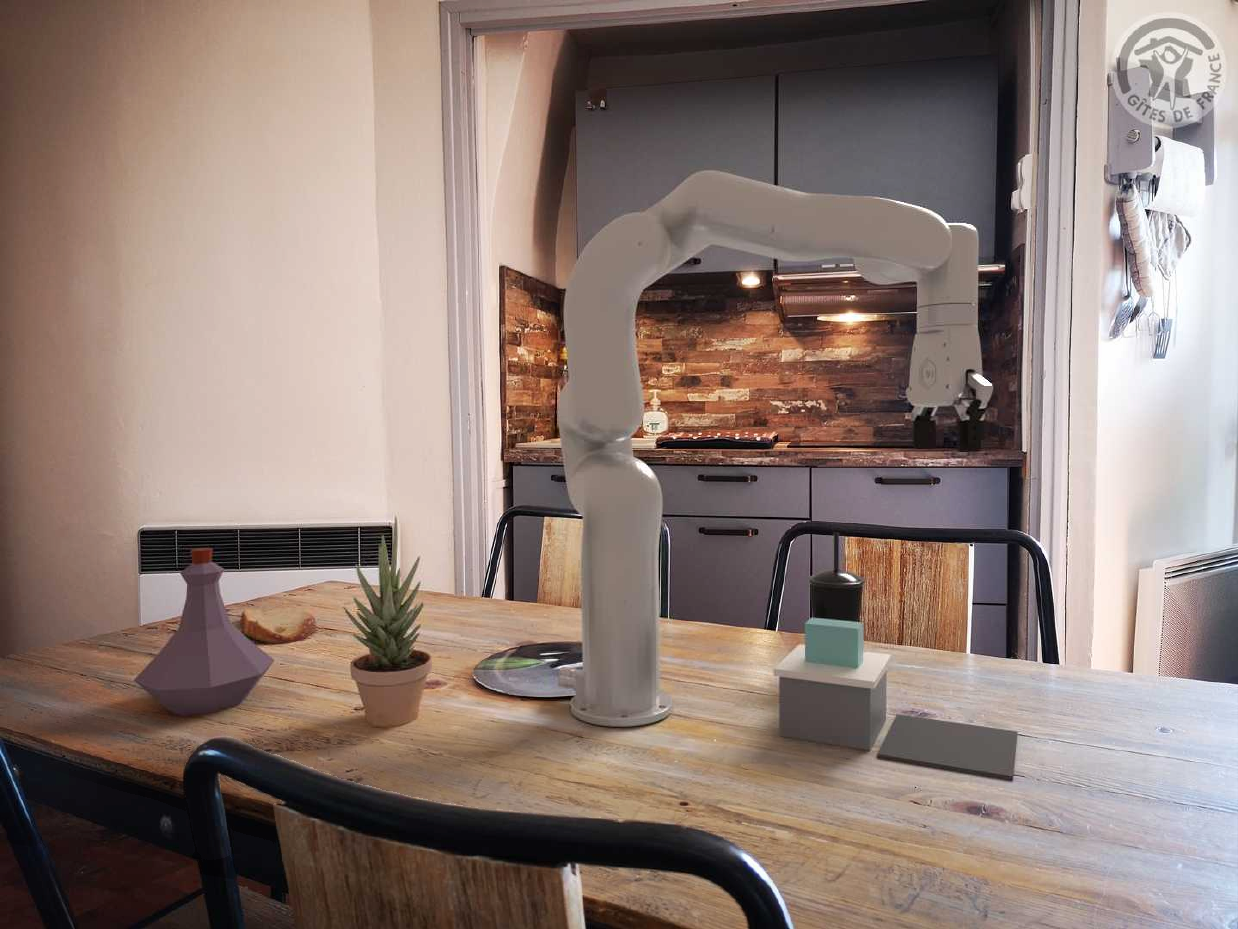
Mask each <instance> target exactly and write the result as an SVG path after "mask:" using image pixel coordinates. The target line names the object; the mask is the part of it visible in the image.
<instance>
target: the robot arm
mask: <svg viewBox="0 0 1238 929" xmlns="http://www.w3.org/2000/svg"><path fill="white" fill-rule="evenodd" d="M979 240H980V239H979V232H978V229H977V228H976V227H975V226H973V225H972V224H967V223H962V222H961V223H960V222H959V223H957V222H954V223H952V222H951V223H947V222H946V221H945V220H944V219H943V218H942V217H941V216H940V215H938V214H937V213H935V212H933V211H932V210H929V209H927V208H923V207H920V206H917V205H913V204H909V203H906V202H901V201H897V200H894V199H893V200H892V199H888V198H883V197H877V196H876V197H875V196H865V195H850V194H849V195H847V194H846V195H845V194H844V195H843V194H833V193H809V192H805V191H804V192H803V191H799V190H795V189H792V188H791V189H790V188H786V187H783V186H778V185H774V184H772V183H768V182H763V181H759V180H755V179H752V178H748V177H744V176H740V175H736V174H732V173H729V172H724V171H719V170H713V169H712V170H711V169H709V170H708V169H707V170H706V169H705V170H701V171H698V172H695V173H693V174H692V175H689V176H688V177H687V178H685V179H684V180H683V181H682V182H681V183H680V184H679V185H678V186H677V187H675V189H673V191H671V192H670V193H669V194H668V195H665V197H663V198H662V199H661V200H660V201H658V202H656V203H655V204H653V205H652V206H651V207H650V208H648V209H646V210H644V211H642V212H639V211H638V212H637V211H636V212H631V213H626V214H624V215H621V216H620V217H619V216H618V217H617V218H615V219H614V220H612V221H611V222H609V223H608V224H606V225H605V226H604V227H603V228H602V229H601V230H599V231H598V232H597V233H596V234H595V235H594V236H593V237H592V238H591V239H590V240H589V242H588V243H586V246H584V248H583V249H582V251H581V253H580V255H579V256H578V259H577V260H576V262H575V264H574V265H573V268H572V270H571V272H570V276H569V279H568V282H567V285H566V290H565V294H564V301H563V302H564V303H563V327H564V328H563V329H564V339H565V353H566V361H567V362H566V363H567V364H566V365H567V373H568V380H567V382H566V383H565V384H564V386H563V387H562V389H561V392H560V394H559V398H558V402H557V404H558V405H557V422H558V430H559V431H558V432H559V438H560V446H561V454H562V461H563V467H564V468H563V469H564V476H565V481H566V482H565V483H566V488H567V492H568V493H567V494H568V497H569V500H570V503H571V504H572V505H573V508H574V509H575V511H576V512H577V513H578V514H579V515H580V516H582V533H581V545H580V546H581V549H580V550H581V551H580V586H581V588H580V589H581V639H582V640H581V641H582V642H581V643H582V644H581V646H582V649H581V650H582V669H577V668H575V667H574V668H573V667H568V666H562V667H560V669H559V672H558V679H557V686H558V687H560V688H566V689H568V688H569V689H573V690H574V692H575V695H574V696H573V697H572V698H571V700H570V711H571V713H572V714H573V716H574V717H576V718H577V719H578V720H580V721H583V722H584V723H589V724H593V725H597V726H603V727H616V728H617V727H620V728H623V727H624V728H625V727H637V726H643V725H649V724H653V723H656V722H659V721H661V720H663V719H665V718H667V717H668V716H669V715H670V714H671V713H672V711H673V708H674V707H673V699H672V697H671V695H669V694H668V693H667V692H665V691H663V690H661V684H660V683H661V678H660V677H661V676H660V675H661V670H660V668H661V666H660V665H661V664H660V661H661V660H660V658H661V657H660V655H661V654H660V585H659V548H660V538H661V537H660V536H661V527H662V526H661V525H662V519H663V507H664V506H663V503H664V502H663V493H662V488H661V484H660V482H659V480H658V479H659V478H657V476H656V474H655V473H654V471H653V470H652V469H651V468H650V466H649V465H647V464H646V463H645V462H644V461H643V460H641V459H639V458H637V457H635V456H634V450H633V443H632V442H633V441H632V436H633V435H634V434H635V433H636V432H637V431H638V429H639V428H640V427H641V425H642V423H643V419H644V417H645V416H644V415H645V402H644V401H645V399H644V392H643V388H642V386H643V385H642V381H641V380H642V379H641V373H640V366H639V356H638V349H637V338H636V312H637V306H638V302H639V300H640V297H641V295H642V293H643V291H644V289H646V288H648V287H649V286H651V285H652V284H654V283H655V282H656V281H657V280H659V279H661V278H662V277H663V276H666V275H667V274H669V273H670V272H672V271H674V270H675V269H676V268H678V267H679V266H681V265H682V264H685V263H686V262H687V261H688V260H690V259H692V258H693V257H694V256H696V255H697V254H699V253H700V252H701V251H703V250H705V249H706V248H707V247H709V246H711V245H716V246H720V247H724V248H728V249H733V250H737V251H741V252H746V253H749V254H750V253H751V254H755V255H760V256H763V257H767V258H771V259H775V260H779V261H784V262H811V261H821V260H827V259H837V258H838V259H839V258H840V259H841V258H842V259H843V258H846V259H847V258H848V259H853V263H854V265H853V266H854V267H855V270H856V272H857V273H858V274H859V275H860V276H861V278H863V279H864V280H866V281H868V282H870V283H872V284H875V285H881V286H882V285H885V286H886V285H893V284H901V283H902V284H903V283H908V282H909V283H910V282H915V283H916V286H917V287H916V290H917V291H916V294H917V295H916V298H917V299H916V303H917V304H916V333H915V335H914V339H913V342H912V343H913V344H912V350H911V358H910V368H909V380H908V382H909V384H908V385H909V386H908V387H907V388H906V389H905V396H906V398H907V402H908V404H907V407H908V410H909V412H910V413H911V414H910V419H911V420H912V447H913V448H912V449H914V450H934V449H935V448H936V444H937V443H936V439H937V435H936V434H937V433H936V432H937V431H936V430H937V422H936V421H937V420H936V419H934V417H935V414H936V412H937V410H938V408H939V407H954V408H955V410H956V411H957V414H958V416H959V417H960V420H956V451H957V452H958V453H979V452H981V451H982V430H983V429H982V427H983V426H982V424H983V423H982V421H984V420H985V418H986V411H987V410H988V408H989V406H990V399H991V398H992V394H993V391H994V386H993V384H992V383H990V382H989V381H988V380H987V379H985V378H984V377H983V361H982V349H981V348H982V347H981V340H980V334H979V330H978V327H979V326H978V322H979V321H978V320H979V314H978V313H979V312H978V311H979V309H978V308H979V305H978V304H979V249H980V248H979V246H980V245H979V244H980V243H979V242H980V241H979Z"/></svg>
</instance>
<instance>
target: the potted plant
mask: <svg viewBox="0 0 1238 929" xmlns="http://www.w3.org/2000/svg"><path fill="white" fill-rule="evenodd" d="M394 517H395V518H394V525H393V526H394V527H393V541H392V551H391V563H390V561H389V555H388V549H387V544H386V540H385V536H384V534H382V535H381V541H380V542H381V544H380V545H378V580H379V581H378V582H379V596H378V595H377V593H376V592H375V591H374V589H373V588H372V586H371V585H370V584H369V582H368V580H367V579H366V578H365V576H364V574H363V573H362V571H361V569H360V566H359V565H358V564H356V563H355V569H356V574H357V578H358V580H359V584H360V585H361V587H362V589H363V592H364V594H365V596H366V598H367V600H368V602H369V605H370V608H371V611H370V610H369V609H368V608H367V607H366V606H365V605H363V603H361V601H359V600H358V599H357V598H356V597H355V596H353V602H354V603H355V605H356V607H357V608H358V610H359V611H360V612H361V613H360V612H356V615H357V617H358V619H360V620H361V622H362V623H363V625H364V626H363V625H362V624H361V623H360V622H359V621H358V620H357V619H356V618H355V617H354V616H353V615H352V614H351V613H350V611H348V610H347V609H346V608H347V607H345V606H343V607H342V609H344V613H345V614H346V615H347V617H348V618H349V619H350V620H351V622H352V623H353V625H354V626H355V627H356V628H357V629H358V630H359V631H360V632H361V634H363V635H364V636H365V638H364V637H361V636H359V635H357V634H355V633H354V634H352V636H353V637H354V638H355V639H356V640H358V641H359V642H360V643H361V644H362V645H364V646H365V647H366V648H368V651H369V652H366V653H362V654H361V655H358V656H356V657H355V658H353V659H352V660H351V661H350V665H349V666H350V668H349V669H350V677H351V679H352V680H354V681H355V684H356V688H357V691H358V693H359V694H358V695H359V697H360V701H361V703H362V708H363V710H364V713H365V714H364V715H365V719H366V720H365V721H367V723H368V724H369V725H372V726H373V727H382V728H385V727H386V728H387V727H388V728H389V727H397V726H402V725H405V724H410V723H411V722H413V721H415V720H416V719H418V717H419V712H420V706H421V700H422V696H423V693H424V688H425V686H426V685H425V684H426V681H427V678H428V675H429V674H430V673H431V671H432V669H433V667H432V666H433V665H432V664H433V662H432V659H433V658H432V656H431V654H430V653H429V652H426V651H423V650H419V649H415V646H414V644H415V642H416V641H417V639H418V638H419V636H420V634H421V633H420V632H418V630H419V629H420V628H421V626H422V625H421V624H418V625H417V626H416V627H415V628H414V629H413V630H412V631H411V632H410V633H409V634H407V633H408V631H409V630H410V628H411V627H412V625H413V624H414V622H415V621H416V619H417V618H418V616H419V614H420V613H421V611H422V609H423V607H424V605H425V604H424V601H422V602H421V603H420V604H419V603H417V604H416V605H415V606H414V607H413V608H411V609H410V607H411V606H412V604H413V603H414V600H415V598H416V596H417V594H418V592H419V589H420V586H421V581H418V583H417V584H416V586H415V588H414V589H413V590H412V592H411V593H410V595H409V596H408V597H407V598H406V600H405V601H404V599H405V597H406V596H407V593H408V591H409V589H410V586H411V585H412V584H411V583H412V581H413V579H414V576H415V574H416V572H417V570H418V566H419V563H420V558H421V557H420V556H421V555H419V556H418V557H417V559H416V560H415V562H414V564H413V566H412V568H410V570H409V573H408V575H407V576H406V578H405V580H404V582H403V583H402V585H400V584H401V577H402V574H401V573H402V571H401V568H400V567H399V568H398V570H397V565H398V546H399V545H398V544H399V542H398V541H399V536H398V535H399V534H398V532H399V530H398V519H397V516H394ZM402 603H403V604H402ZM365 626H366V628H367V629H368V630H367V629H366V628H365ZM417 632H418V633H417ZM406 634H407V636H406Z"/></svg>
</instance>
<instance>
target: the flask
mask: <svg viewBox="0 0 1238 929" xmlns="http://www.w3.org/2000/svg"><path fill="white" fill-rule="evenodd" d="M213 550H214V549H213V548H212V547H199V548H193V549H190V556H191V561H192V563H191V564H189V565H188V566H187V567H186V568H184V569H183V570H182V571H181V572H179V573H180V575H181V576H182V579H183V580H184V582H185V584H186V596H185V602H184V606H183V609H182V613H181V617H180V620H179V625H178V628H177V630H176V631H175V632H174V634H173V635H172V636H171V637H170V638H169V639H168V641H167V642H166V643H165V645H164V646H163V648H161V650H160V651H159V652H158V653H157V654H156V655H155V657H153V659H152V660H151V661H150V662H149V663H148V664H147V665H146V666H145V667H144V669H143V670H141V672H140V673H139V674H138V675H137V676H136V677H135V678H134V679H133V681H134V683H135V684H137V685H138V686H140V687H141V688H142V689H143V690H144V691H145V692H146V693H147V694H149V695H150V696H151V697H153V698H154V699H155V700H156V701H157V702H158V703H160V704H161V705H162V706H163V707H164V708H166V709H167V711H171V712H172V713H175V714H176V715H177V714H178V715H179V716H184V715H204V714H205V715H206V714H207V715H208V714H213V713H217V712H220V711H224V710H227V709H230V708H234V707H237V706H240V705H241V704H242V702H243V701H244V700H245V699H246V698H247V697H248V696H249V694H250V693H251V692H252V691H253V689H254V688H255V687H256V685H257V684H258V683H259V681H261V679H262V678H263V676H264V675H265V674H266V673H267V671H268V670H269V668H270V667H271V666H272V665H273V663H274V662H275V659H274V658H273V657H271V656H270V655H269V654H268V653H267V652H265V651H264V650H263V649H261V648H260V647H259V646H257V644H255V643H254V642H253V641H252V640H250V639H249V637H248V636H246V635H245V634H243V632H241V630H240V629H239V628H237V627H236V626H235V625H234V624H233V623H232V622H231V620H230V617H229V615H228V612H227V609H226V606H225V603H224V600H223V598H222V595H221V589H220V588H221V587H220V583H219V582H220V579H221V577H222V575H223V573H224V571H225V568H223V567H222V566H220V565H218V564H217V563H215V562H213V561H212V559H213Z"/></svg>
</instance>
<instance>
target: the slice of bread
mask: <svg viewBox="0 0 1238 929" xmlns="http://www.w3.org/2000/svg"><path fill="white" fill-rule="evenodd" d="M316 622H317V621H316V619H315V616H314V614H312V613H310V612H305V611H297V610H291V609H276V608H265V609H264V608H263V609H261V608H251V609H250V608H247V609H244V610H243V611H242V613H241V616H240V623H239V626H240V628H241V630H242V631H243V632H242V633H244V635H245V636H246V637H247V638H250V639H254V640H255V641H260V642H262V643H265V644H270V645H271V644H272V645H285V644H291V643H297V642H301V641H304V640H306V639H307V638H308V637H309V636H311V635H312V634H315V632H317V629H318V626H317V623H316Z"/></svg>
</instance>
